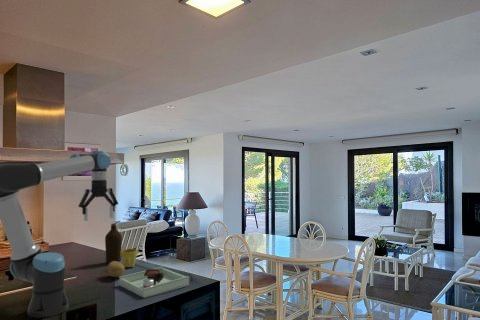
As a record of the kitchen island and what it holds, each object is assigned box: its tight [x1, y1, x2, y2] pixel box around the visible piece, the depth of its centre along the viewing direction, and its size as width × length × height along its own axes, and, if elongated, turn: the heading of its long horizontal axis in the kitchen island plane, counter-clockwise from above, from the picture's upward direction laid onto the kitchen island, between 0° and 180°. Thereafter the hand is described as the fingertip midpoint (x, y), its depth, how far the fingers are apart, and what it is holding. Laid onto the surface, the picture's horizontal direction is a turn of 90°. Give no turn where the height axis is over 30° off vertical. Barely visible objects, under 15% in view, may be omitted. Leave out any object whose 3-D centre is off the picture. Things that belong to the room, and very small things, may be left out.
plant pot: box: [121, 248, 138, 268], centre depth 214 cm, size 10×10×10 cm
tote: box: [118, 266, 190, 299], centre depth 177 cm, size 26×26×5 cm
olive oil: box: [104, 222, 123, 264], centre depth 225 cm, size 11×11×25 cm
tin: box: [143, 279, 154, 288], centre depth 165 cm, size 5×5×6 cm
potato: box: [106, 261, 126, 278], centre depth 192 cm, size 10×14×8 cm
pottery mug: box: [144, 268, 164, 285], centre depth 178 cm, size 12×9×8 cm
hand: (98, 219), depth 180 cm, fingers open, 13 cm apart
